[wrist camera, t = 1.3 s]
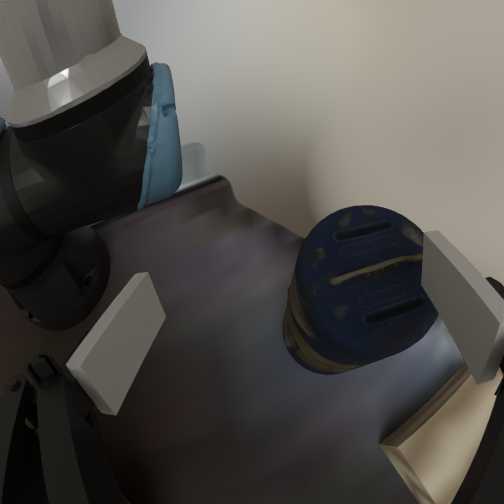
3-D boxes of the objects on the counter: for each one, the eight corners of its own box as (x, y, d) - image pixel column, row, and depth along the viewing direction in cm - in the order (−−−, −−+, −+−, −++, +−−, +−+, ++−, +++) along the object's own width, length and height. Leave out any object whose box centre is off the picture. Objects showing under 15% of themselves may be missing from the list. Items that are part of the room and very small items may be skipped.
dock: (378, 444, 25) (397, 447, 20) (465, 361, 28) (489, 351, 24) (438, 530, 17) (460, 540, 13) (514, 447, 21) (539, 444, 16)
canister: (281, 289, 33) (291, 183, 17) (365, 287, 33) (436, 189, 17) (282, 378, 29) (300, 358, 13) (372, 372, 29) (472, 339, 13)
